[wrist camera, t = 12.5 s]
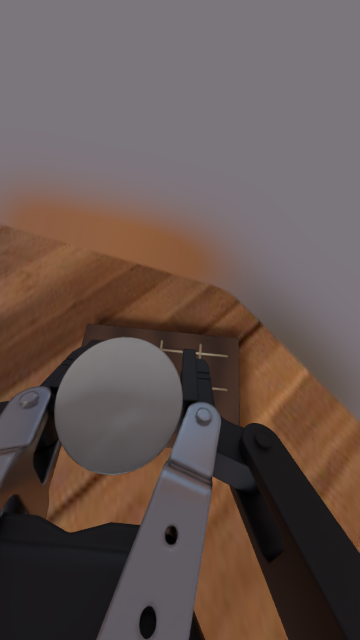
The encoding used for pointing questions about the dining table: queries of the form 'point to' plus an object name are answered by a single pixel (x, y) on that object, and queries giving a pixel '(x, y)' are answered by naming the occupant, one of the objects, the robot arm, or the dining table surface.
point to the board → (210, 348)
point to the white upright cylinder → (118, 406)
